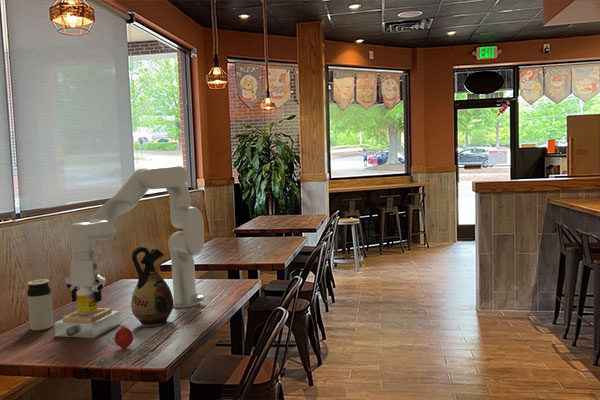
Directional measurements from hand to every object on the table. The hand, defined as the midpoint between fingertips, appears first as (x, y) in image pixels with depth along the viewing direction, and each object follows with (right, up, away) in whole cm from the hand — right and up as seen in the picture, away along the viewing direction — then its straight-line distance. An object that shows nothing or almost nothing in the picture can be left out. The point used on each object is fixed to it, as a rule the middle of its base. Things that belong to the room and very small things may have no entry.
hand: (86, 301), depth 186 cm
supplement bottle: (0, -6, +1) cm, 6 cm away
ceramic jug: (+23, -10, +4) cm, 25 cm away
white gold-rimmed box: (0, -11, +1) cm, 11 cm away
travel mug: (-20, -12, +6) cm, 24 cm away
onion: (+22, -12, -21) cm, 32 cm away
